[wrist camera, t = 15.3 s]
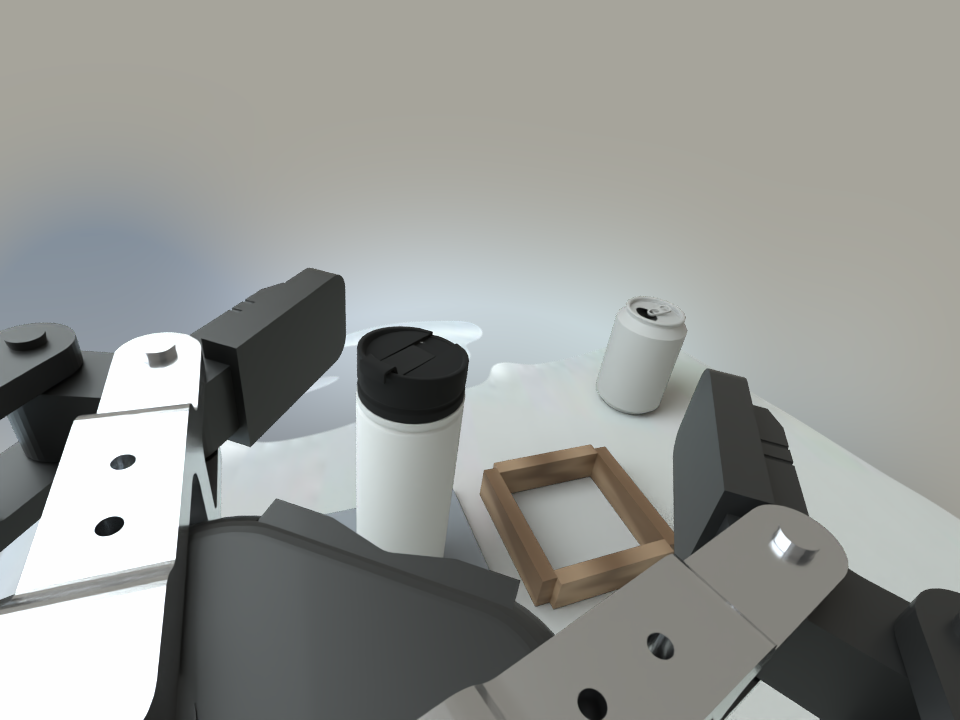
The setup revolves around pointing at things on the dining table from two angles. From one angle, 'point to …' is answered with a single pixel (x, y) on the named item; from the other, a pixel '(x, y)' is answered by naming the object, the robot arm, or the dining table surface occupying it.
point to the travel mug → (407, 437)
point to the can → (641, 354)
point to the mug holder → (586, 575)
